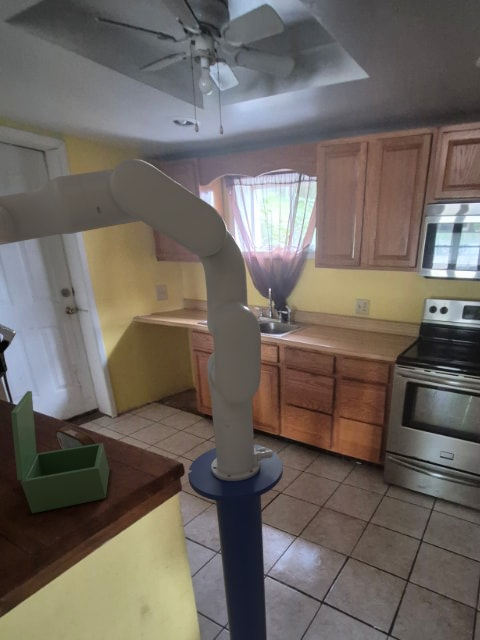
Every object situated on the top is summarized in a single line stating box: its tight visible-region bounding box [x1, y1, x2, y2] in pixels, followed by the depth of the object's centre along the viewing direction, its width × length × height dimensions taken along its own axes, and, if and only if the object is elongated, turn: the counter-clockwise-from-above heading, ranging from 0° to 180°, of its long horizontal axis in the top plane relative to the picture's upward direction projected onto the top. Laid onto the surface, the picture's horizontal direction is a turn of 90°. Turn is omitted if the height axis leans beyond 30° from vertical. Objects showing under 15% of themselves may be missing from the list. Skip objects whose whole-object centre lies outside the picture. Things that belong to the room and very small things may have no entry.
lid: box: [10, 390, 37, 481], centre depth 75 cm, size 14×11×1 cm
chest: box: [20, 442, 110, 514], centre depth 81 cm, size 14×11×8 cm
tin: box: [54, 424, 97, 450], centre depth 92 cm, size 15×3×8 cm, turn 59°
